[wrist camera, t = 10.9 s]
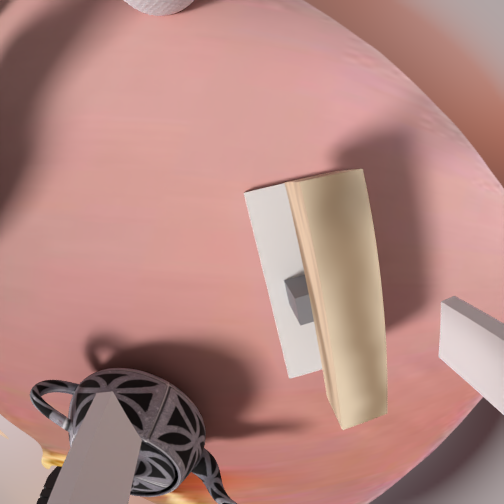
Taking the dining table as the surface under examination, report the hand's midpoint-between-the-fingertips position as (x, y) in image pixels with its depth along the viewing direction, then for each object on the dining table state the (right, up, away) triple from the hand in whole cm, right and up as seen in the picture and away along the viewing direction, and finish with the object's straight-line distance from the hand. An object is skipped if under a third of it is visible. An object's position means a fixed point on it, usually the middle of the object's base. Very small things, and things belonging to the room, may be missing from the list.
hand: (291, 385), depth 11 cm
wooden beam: (+7, 0, +20) cm, 21 cm away
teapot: (-17, -19, +29) cm, 38 cm away
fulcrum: (+6, +1, +27) cm, 27 cm away
